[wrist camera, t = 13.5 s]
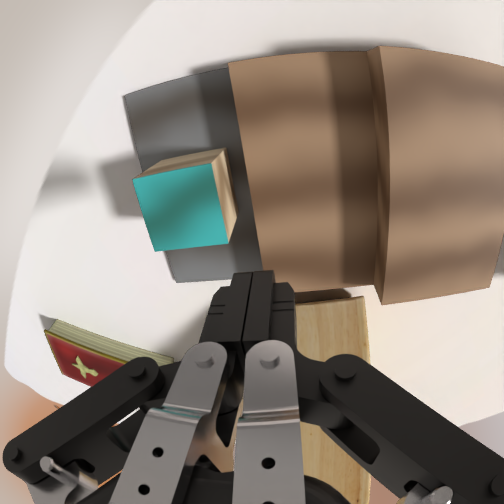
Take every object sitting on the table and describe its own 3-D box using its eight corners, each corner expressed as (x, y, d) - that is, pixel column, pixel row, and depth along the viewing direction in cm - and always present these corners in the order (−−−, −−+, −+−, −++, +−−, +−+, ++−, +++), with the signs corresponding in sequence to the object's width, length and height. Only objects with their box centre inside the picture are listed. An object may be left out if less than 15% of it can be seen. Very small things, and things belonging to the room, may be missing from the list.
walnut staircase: (127, 95, 23) (87, 100, 17) (470, 67, 18) (512, 69, 12) (177, 280, 32) (158, 320, 27) (461, 253, 27) (489, 287, 22)
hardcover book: (176, 395, 46) (170, 415, 42) (71, 360, 45) (62, 376, 42) (177, 354, 40) (169, 377, 36) (56, 314, 39) (42, 332, 35)
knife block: (289, 433, 49) (280, 580, 22) (254, 290, 32) (205, 617, 5) (348, 427, 47) (354, 575, 20) (360, 277, 30) (419, 605, 3)
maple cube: (210, 163, 19) (226, 147, 24) (132, 179, 20) (161, 160, 25) (228, 243, 22) (238, 212, 27) (154, 251, 23) (177, 220, 28)
